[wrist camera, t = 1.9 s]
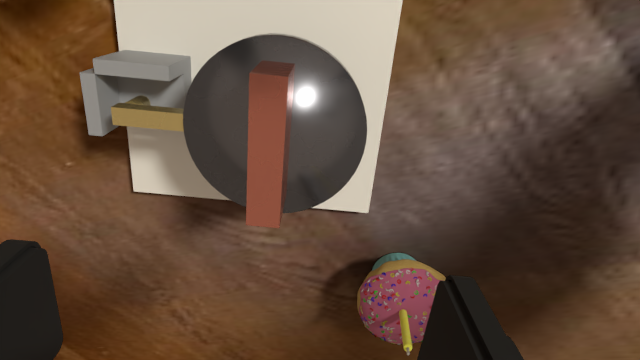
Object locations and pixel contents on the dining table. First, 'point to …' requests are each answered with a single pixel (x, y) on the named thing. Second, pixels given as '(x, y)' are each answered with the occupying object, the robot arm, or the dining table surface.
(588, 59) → the dining table surface
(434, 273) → the cupcake
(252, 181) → the handwheel
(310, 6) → the pedestal
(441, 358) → the robot arm
